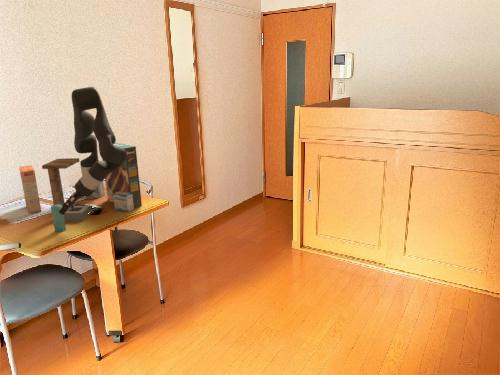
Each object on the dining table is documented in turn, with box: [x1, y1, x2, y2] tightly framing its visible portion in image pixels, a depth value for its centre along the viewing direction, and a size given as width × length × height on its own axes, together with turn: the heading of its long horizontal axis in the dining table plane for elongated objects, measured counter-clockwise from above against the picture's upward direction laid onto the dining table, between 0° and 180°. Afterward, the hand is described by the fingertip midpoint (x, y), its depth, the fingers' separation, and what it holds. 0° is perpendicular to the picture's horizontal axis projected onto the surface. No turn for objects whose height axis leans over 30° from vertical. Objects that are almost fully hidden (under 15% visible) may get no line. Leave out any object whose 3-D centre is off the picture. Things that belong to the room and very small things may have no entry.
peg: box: [50, 204, 67, 233], centre depth 165 cm, size 4×4×11 cm
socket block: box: [63, 205, 93, 223], centre depth 181 cm, size 10×10×4 cm
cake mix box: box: [101, 142, 143, 209], centre depth 197 cm, size 22×6×30 cm, turn 49°
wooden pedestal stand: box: [41, 157, 80, 207], centre depth 178 cm, size 14×10×26 cm
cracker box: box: [19, 165, 42, 214], centre depth 192 cm, size 14×6×21 cm, turn 33°
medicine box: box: [113, 192, 135, 213], centre depth 189 cm, size 8×4×9 cm, turn 70°
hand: (65, 209), depth 164 cm, fingers open, 8 cm apart
